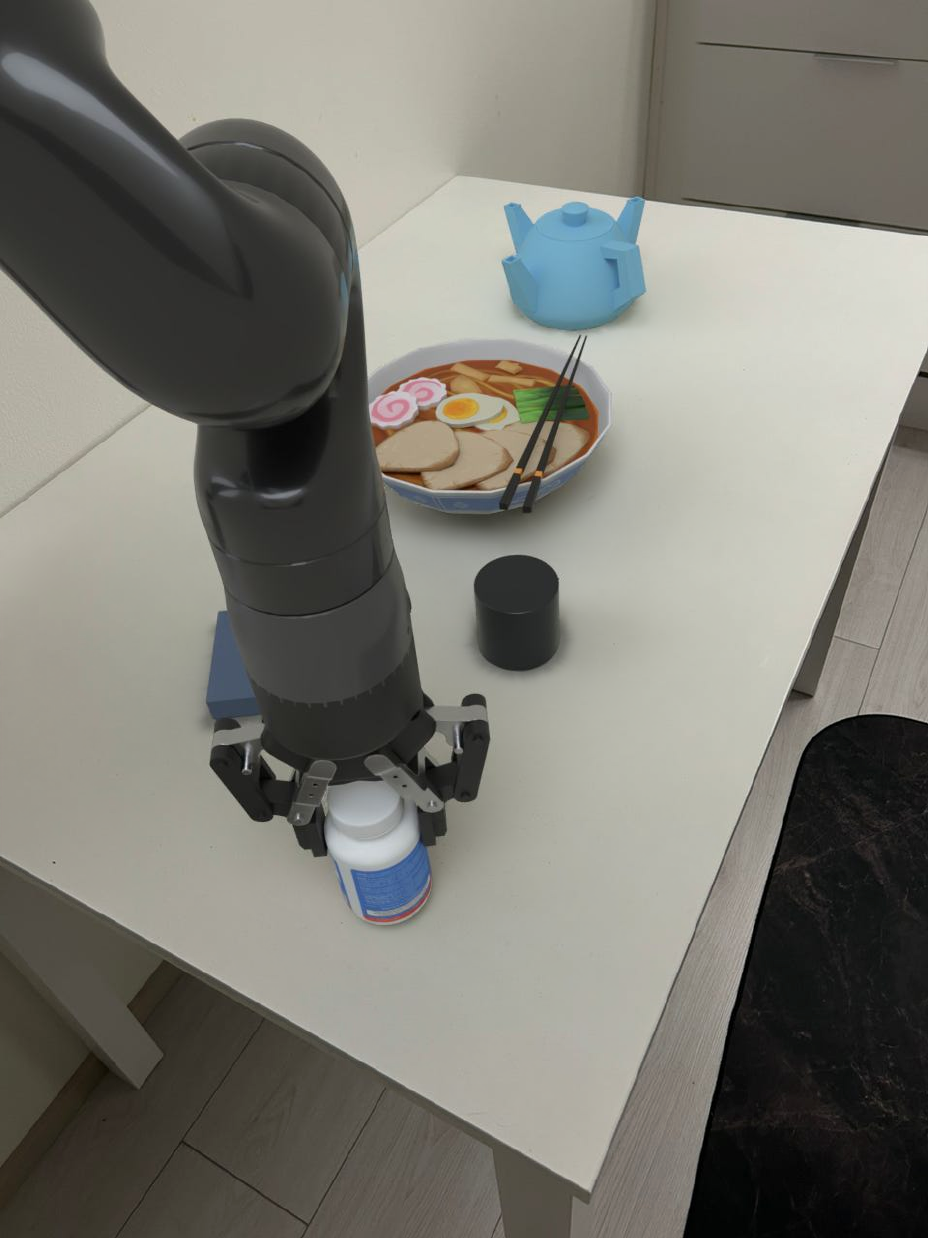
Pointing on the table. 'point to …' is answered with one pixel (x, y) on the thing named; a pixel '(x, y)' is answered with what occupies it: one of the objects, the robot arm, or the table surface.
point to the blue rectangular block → (228, 676)
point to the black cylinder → (517, 612)
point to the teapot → (575, 264)
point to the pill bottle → (377, 851)
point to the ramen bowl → (485, 422)
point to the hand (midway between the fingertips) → (375, 837)
